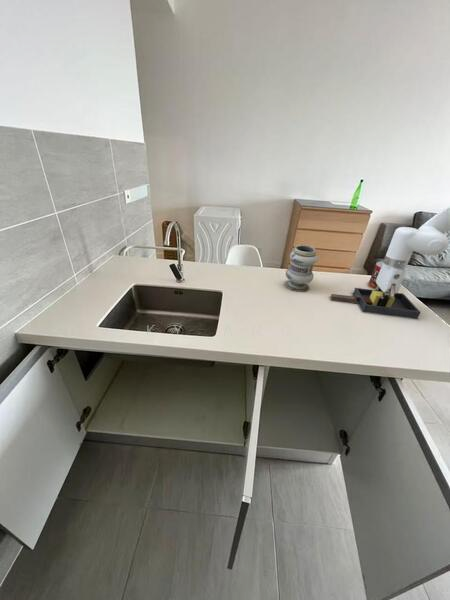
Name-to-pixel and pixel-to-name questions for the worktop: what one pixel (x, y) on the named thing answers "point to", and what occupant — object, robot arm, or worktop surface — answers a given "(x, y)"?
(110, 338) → the worktop surface
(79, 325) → the worktop surface
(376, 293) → the sponge
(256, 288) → the worktop surface
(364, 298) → the plate
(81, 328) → the worktop surface
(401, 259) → the robot arm
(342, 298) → the pan handle
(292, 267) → the apothecary jar
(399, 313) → the pan
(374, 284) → the canned food
